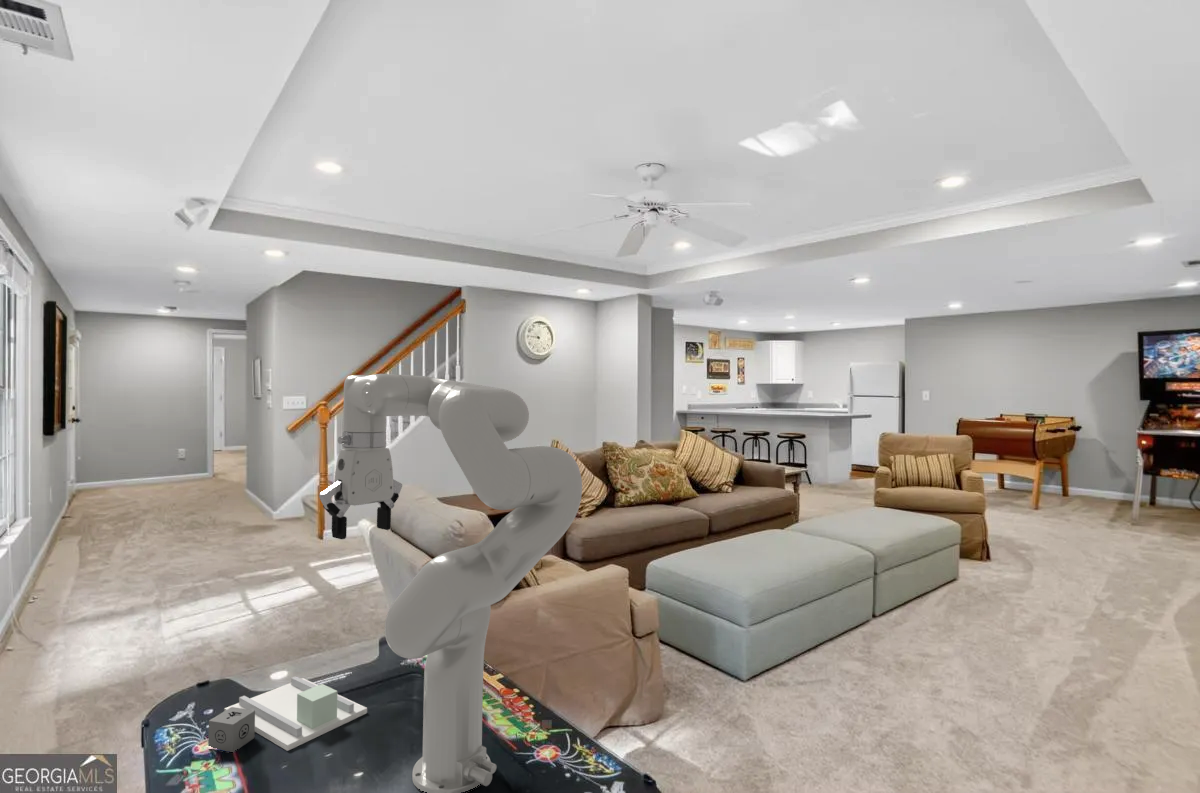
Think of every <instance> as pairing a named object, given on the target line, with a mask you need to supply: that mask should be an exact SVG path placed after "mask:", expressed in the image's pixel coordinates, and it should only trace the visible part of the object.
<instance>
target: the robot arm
mask: <svg viewBox="0 0 1200 793" xmlns="http://www.w3.org/2000/svg"><path fill="white" fill-rule="evenodd" d="M527 405H528V404H527V403H526V401H524V399H523V398H522V397H521V396H520V395H518V394H517V393H515V392H514V391H511V390H509V389H504V388H499V387H494V386H488V385H480V384H475V383H468V382H461V381H456V380H452V379H451V380H450V379H443V378H437V377H433V376H425V375H416V374H415V375H412V374H398V373H397V374H390V373H373V374H371V375H369V374H368V375H366V374H364V375H363V374H353V375H348V376H347V377H346V378H345V380H344V384H343V409H342V410H343V412H342V414H343V416H342V425H343V426H342V436H338V438H337V442H338V444H339V445H342V449H339V452H338V455H337V461H336V465H335V472H334V483H333V484H331V485H330V486H328V487H327V488H326V489H324V490H323V491H321V492H320V493H319V494H318V498H319V500H320V501H321V504H322V507H323V509H324V510H325V511H327V512H328V515H329V516H331V534H332V535H331V536H332V538H335V539H337V540H338V539H339V540H346V538H347V528H348V527H347V526H348V523H347V522H348V520H347V519H348V517H347V516H345V514H346V513H347V511H348V510H349V508H350V506H354V507H356V506H362V505H368V504H374V503H375V504H376V503H378V505H379V506H378V507H377V510H376V528H378V529H380V530H385V531H388V530H391V522H392V509H393V508H395V503H396V502H397V500H398V499H399V497H400V493H401V491H402V488H403V483H401V482H400V481H398V480H396V479H394V474H393V473H394V472H393V471H394V470H393V461H392V456H391V452H390V448H388V447H386V444H387V443H386V440H387V439H386V437H387V417H397V416H398V417H407V416H408V417H409V416H410V417H411V416H414V417H415V416H418V417H428V418H429V419H430V421H431V423H432V425H434V426H435V428H436V429H439V430H440V431H441V433H442V437H443V439H444V440H445V442H446V445H447V447H448V448H449V450H450V452H451V454H452V456H453V457H454V458H455V461H456V463H457V464H458V466H459V468H460V469H461V472H462V473H463V475H464V476H465V479H466V480H467V481H468V484H469V485H470V487H471V489H472V490H473V492H474V493H475V495H476V496H477V497H478V499H479V500H480V501H481V502H482V503H484V504H485V506H486V507H489V508H491V509H494V510H499V511H507V510H511V511H510V512H509V513H508V514H506V515H505V516H504V517H502V518H501V520H500V521H499V522H497V524H496V526H495V527H494V528H493V529H492V530H491V532H489V534H487V535H486V536H485V537H484V538H482V540H481V541H478V542H476V543H474V544H471V545H468V546H464V547H461V548H458V549H455V550H450V551H447V552H444V553H441V554H439V555H437V556H436V557H434V558H432V559H431V560H430V561H428V562H427V563H425V564H424V565H423V567H422V568H420V570H418V572H417V574H416V575H415V576H414V577H413V578H412V579H411V580H410V581H409V583H408V584H407V585H406V587H404V589H403V590H402V591H401V592H400V593H399V595H398V596H397V597H396V598H395V599H394V601H393V602H392V604H391V605H390V607H389V609H388V611H387V615H386V617H385V621H384V622H385V623H384V636H385V640H386V642H387V645H388V646H389V648H390V650H392V652H393V653H394V654H396V655H397V656H398V657H401V658H404V659H408V660H414V659H420V658H423V657H426V660H425V665H424V673H423V674H424V675H423V678H424V679H423V710H422V712H423V715H422V718H423V720H422V725H423V726H422V756H421V757H420V758H419V759H418V760H417V761H416V763H415V764H414V765H413V768H412V782H413V785H414V786H415V788H417V789H418V790H419V789H420V790H419V791H420V792H422V791H424V792H423V793H425V792H427V793H461V792H465V791H468V790H470V789H473V788H475V787H476V788H478V787H479V786H485V787H488V786H489V785H490V784H491V782H492V780H493V774H495V772H496V771H497V764H496V763H494V762H492V761H491V758H490V756H489V755H488V753H487V747H486V746H485V745H483V703H484V702H483V701H484V700H483V695H484V693H483V692H484V691H483V690H484V688H483V687H484V665H485V664H484V662H485V661H484V660H485V648H486V641H487V634H488V629H489V625H490V622H491V621H490V620H491V612H492V611H491V610H492V609H491V608H492V607H491V606H492V605H494V604H496V603H498V602H500V601H502V600H503V599H504V598H505V597H506V596H508V595H509V594H510V593H511V592H512V591H513V589H514V588H515V587H516V586H517V585H518V584H519V583H520V582H521V581H522V579H524V578H525V577H526V576H527V575H528V573H529V572H530V571H532V569H533V568H534V567H535V566H536V565H537V564H538V563H539V561H540V560H541V559H542V558H543V557H545V555H546V554H547V552H549V551H550V550H551V549H552V548H553V547H554V546H555V545H556V543H558V542H559V540H560V539H561V538H562V537H563V536H564V535H565V533H567V531H568V529H569V528H570V527H571V525H572V524H573V522H574V520H575V518H576V516H577V514H578V511H579V508H580V505H581V501H582V495H583V494H582V493H583V479H582V475H581V471H580V467H579V465H578V463H577V461H576V460H575V458H574V457H573V455H572V454H570V453H569V452H567V451H565V450H564V449H561V448H559V447H554V446H547V445H546V446H545V445H542V446H541V445H540V446H529V447H527V446H526V447H519V448H517V447H515V448H508V447H507V445H506V444H505V443H507V442H509V441H512V440H514V439H517V437H519V436H521V435H522V433H524V431H525V430H526V428H527V426H528V423H529V420H530V411H529V408H528V406H527ZM333 496H334V497H333ZM332 498H334V501H335V502H334V503H333V500H332ZM480 784H481V785H480ZM478 785H479V786H478ZM477 786H478V787H477ZM476 788H475V789H476ZM473 790H474V789H473ZM468 792H469V791H468Z"/></svg>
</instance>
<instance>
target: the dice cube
mask: <svg viewBox="0 0 1200 793" xmlns="http://www.w3.org/2000/svg"><path fill="white" fill-rule="evenodd" d="M255 734H256V732H255V710H249V709H242V708H235V707H231V708H229V709H227V710H226V711H223V712H220V713H219V714H218V715H216V716H215V717H213V718H211V719H209V720H208V737H207V738H208V739H207V740H208V741H207V742H208V743H207V744H208V746H211V747H213V748H217V749H221V750H225V751H230V752H233V753H235V752H236V751H238V750H239V749H240V748H242V747H243V746H245V745H246V744H248V743H249V742H251V741H252V740H253V739H255V738H256V737H255ZM208 746H207V747H208ZM237 749H238V750H237ZM235 750H236V751H235ZM234 751H235V752H234Z"/></svg>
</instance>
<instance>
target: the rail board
mask: <svg viewBox="0 0 1200 793" xmlns="http://www.w3.org/2000/svg"><path fill="white" fill-rule="evenodd" d="M238 701H239V702H237V703H235V704H232V705H229V706H228V707H224V709H223V710H224V711H226V710H227V709H229V708H231V707H235V708H242V709H249V710H255V734H258V735H260V736H261V737H263V738H265V739H266V740H268V741H270V742H272V743H273V744H275V745H276V746H278V747H280V748H281V749H283V750H285V751H287V752H288V751H290V750H292V749H295V748H297V747H298V746H301V745H303V744H305V743H308V742H309V741H311V740H314V739H315V738H317V737H320V736H321V735H324V734H326V733H329V732H330V731H332V730H334V729H337V728H339V727H340V726H343V725H345V724H348V723H349V722H351V721H353V720H356V719H358V718H360V717H362V716H364V715H366V714H367V713H368V707H366V706H365V705H362V704H360V703H357V702H355V701H354V700H351V699H348V698H347V697H345V696H342V695H341V694H338V690H336V689H334V688H332V687H330V686H327V685H325V684H323V683H321V684H316V683H314V682H312V681H310V680H308V679H306V678H304V677H302V678H300V677H298V676H292V677H290V682H289V683H287V684H284V685H282V686H279V687H277V688H274V689H271V690H268V691H266V692H263V693H261V694H258V695H255V696H253V697H250V698H249V697H248V696H246V695H242V696H239V697H238ZM224 711H223V712H224Z"/></svg>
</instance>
